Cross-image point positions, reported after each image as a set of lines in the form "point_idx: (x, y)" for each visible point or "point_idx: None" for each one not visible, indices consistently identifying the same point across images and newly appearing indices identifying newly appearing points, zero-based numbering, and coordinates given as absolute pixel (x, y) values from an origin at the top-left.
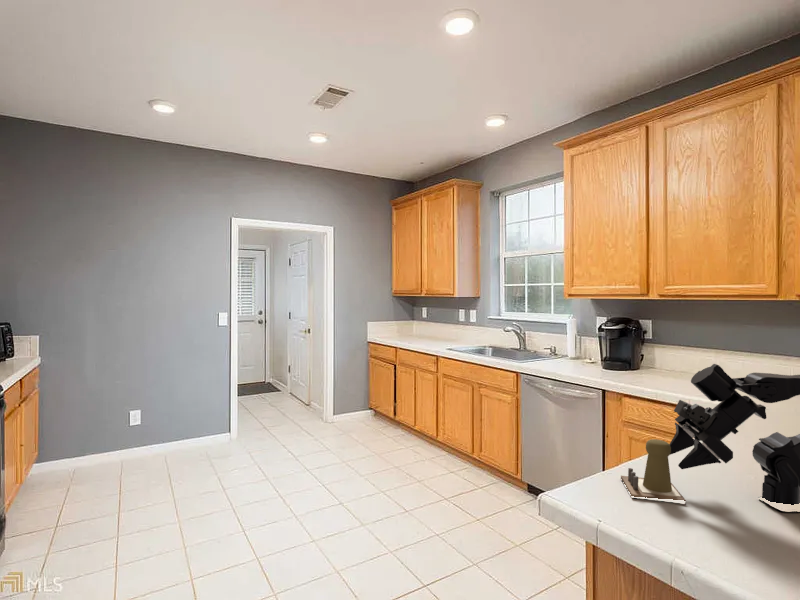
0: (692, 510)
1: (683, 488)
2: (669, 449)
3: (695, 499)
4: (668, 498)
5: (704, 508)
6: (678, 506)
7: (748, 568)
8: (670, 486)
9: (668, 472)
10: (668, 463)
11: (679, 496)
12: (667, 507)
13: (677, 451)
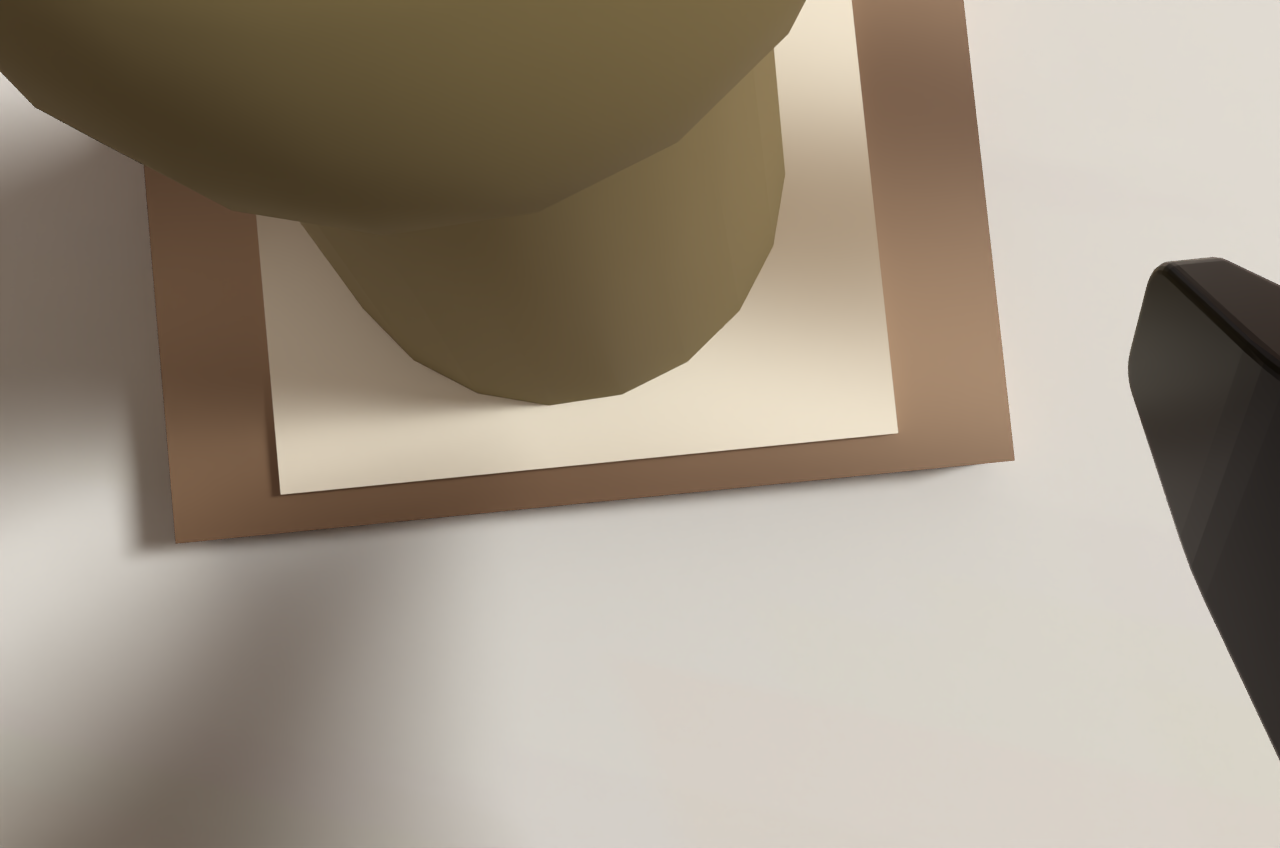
0: (35, 588)
1: (913, 660)
2: (12, 77)
3: (493, 740)
4: (154, 279)
5: (178, 787)
6: (109, 415)
7: None
8: (420, 352)
9: (348, 266)
10: (358, 232)
11: (280, 469)
12: (10, 246)
13: (1247, 665)
